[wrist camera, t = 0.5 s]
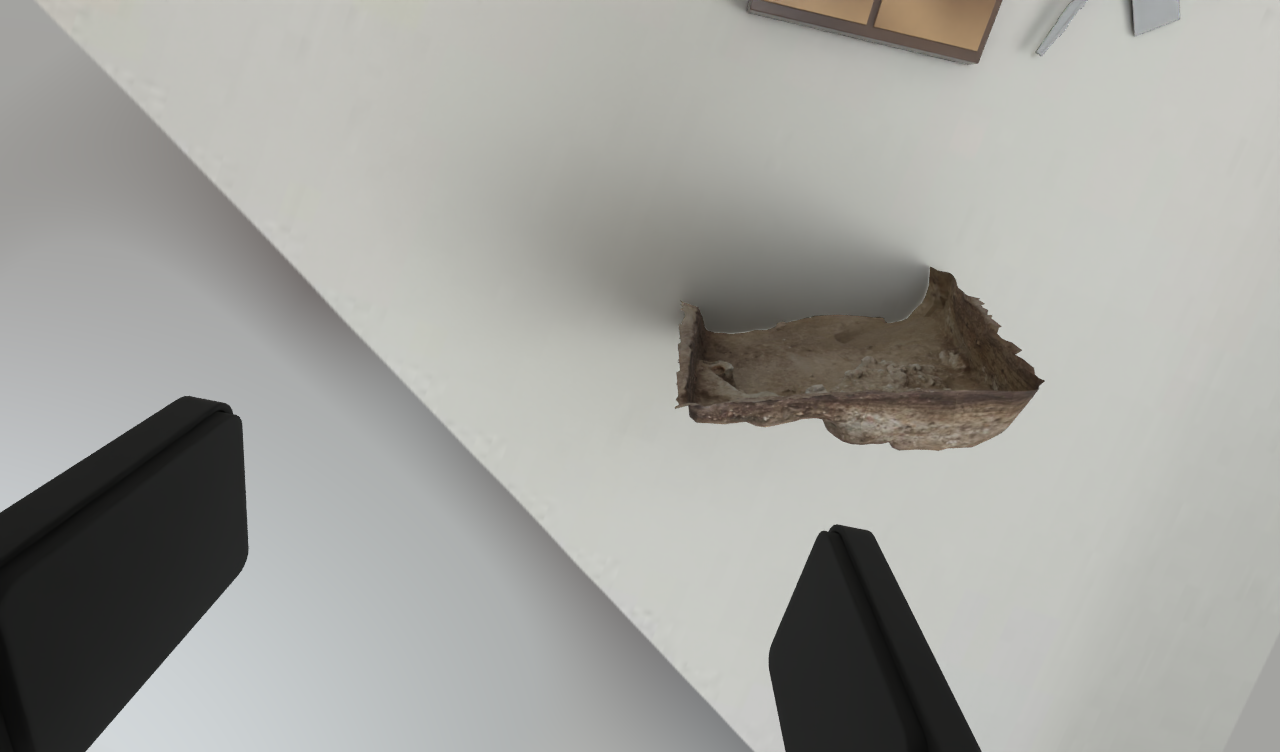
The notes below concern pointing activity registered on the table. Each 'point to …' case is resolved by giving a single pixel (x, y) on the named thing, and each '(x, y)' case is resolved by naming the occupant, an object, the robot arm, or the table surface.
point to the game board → (896, 22)
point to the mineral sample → (864, 374)
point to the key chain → (1150, 11)
